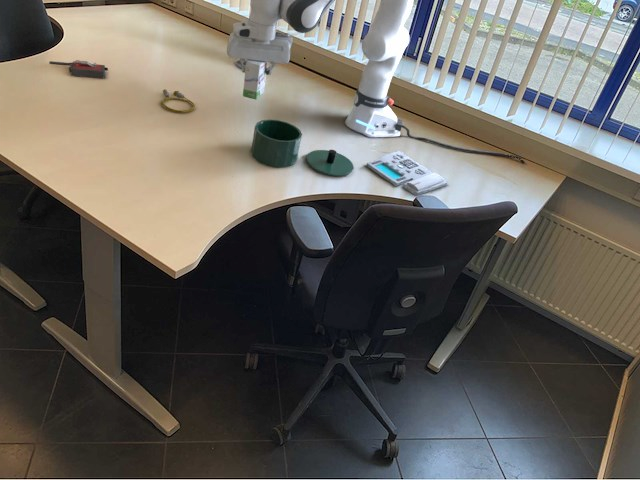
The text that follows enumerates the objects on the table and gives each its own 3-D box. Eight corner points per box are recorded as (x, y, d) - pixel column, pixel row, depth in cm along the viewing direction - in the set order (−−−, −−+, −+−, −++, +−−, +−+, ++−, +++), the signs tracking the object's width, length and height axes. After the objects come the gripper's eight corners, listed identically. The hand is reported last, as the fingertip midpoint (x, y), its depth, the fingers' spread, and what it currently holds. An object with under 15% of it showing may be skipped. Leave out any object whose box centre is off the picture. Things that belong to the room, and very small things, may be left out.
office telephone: (449, 179, 192) (416, 192, 179) (447, 185, 193) (413, 198, 180) (400, 147, 203) (365, 157, 190) (398, 153, 205) (363, 164, 192)
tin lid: (344, 154, 195) (348, 141, 192) (358, 178, 183) (362, 165, 180) (301, 151, 190) (304, 138, 187) (312, 176, 178) (316, 162, 175)
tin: (290, 146, 191) (295, 121, 186) (300, 168, 180) (306, 143, 174) (247, 143, 186) (251, 117, 181) (255, 166, 175) (259, 140, 169)
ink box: (256, 100, 180) (260, 65, 173) (242, 96, 180) (245, 61, 174) (264, 92, 187) (268, 57, 180) (250, 88, 187) (254, 54, 180)
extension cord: (196, 97, 206) (197, 92, 205) (193, 115, 194) (193, 110, 192) (163, 92, 204) (163, 87, 202) (157, 110, 191) (157, 105, 190)
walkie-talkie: (108, 70, 209) (49, 65, 201) (107, 58, 206) (48, 53, 199) (108, 79, 202) (48, 74, 195) (108, 67, 200) (47, 62, 192)
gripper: (291, 31, 177) (284, 72, 185) (228, 23, 171) (224, 66, 179) (295, 37, 173) (288, 79, 181) (231, 29, 166) (226, 74, 174)
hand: (256, 73), depth 180 cm, fingers closed on ink box, 6 cm apart
